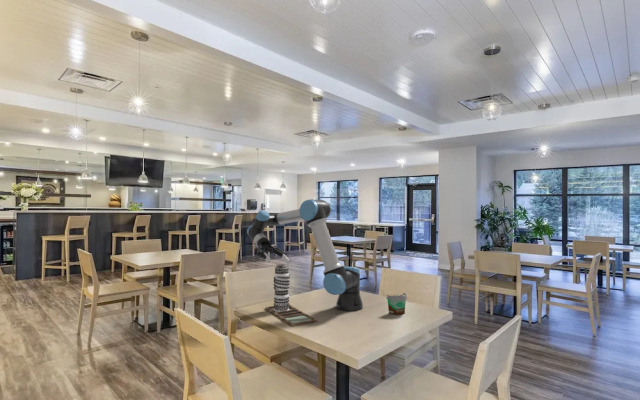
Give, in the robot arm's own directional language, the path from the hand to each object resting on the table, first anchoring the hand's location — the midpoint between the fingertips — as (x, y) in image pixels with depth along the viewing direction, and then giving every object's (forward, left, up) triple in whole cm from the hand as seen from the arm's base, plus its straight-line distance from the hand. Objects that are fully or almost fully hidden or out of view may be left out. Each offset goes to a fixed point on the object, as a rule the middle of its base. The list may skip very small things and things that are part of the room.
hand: (279, 261), depth 202 cm
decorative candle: (-3, +4, -26) cm, 27 cm away
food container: (-67, -7, -26) cm, 72 cm away
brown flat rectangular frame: (-11, +11, -26) cm, 30 cm away
